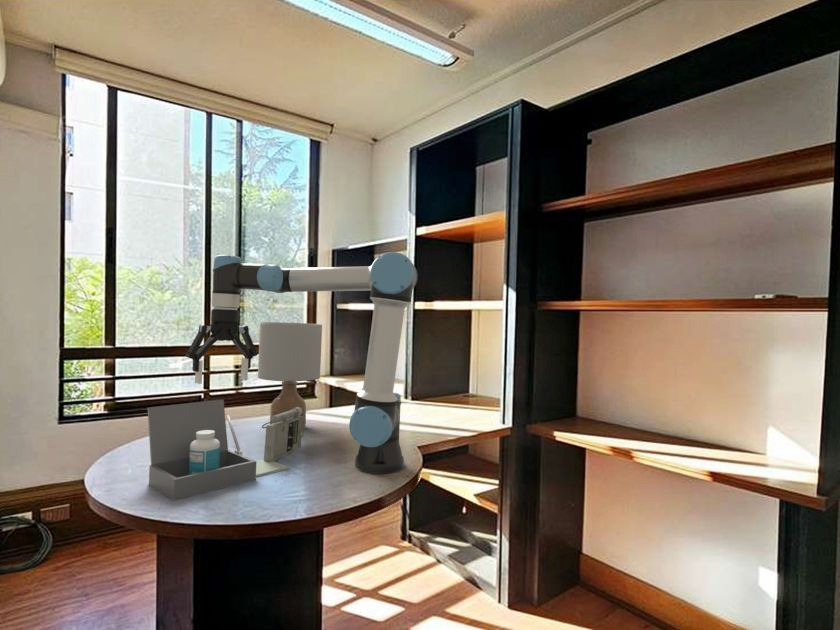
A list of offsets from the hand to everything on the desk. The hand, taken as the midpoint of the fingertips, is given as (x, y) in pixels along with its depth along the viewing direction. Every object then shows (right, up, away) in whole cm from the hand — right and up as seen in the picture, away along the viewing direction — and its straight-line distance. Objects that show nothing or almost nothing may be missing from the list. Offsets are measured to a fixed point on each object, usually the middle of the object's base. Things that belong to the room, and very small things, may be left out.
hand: (221, 381), depth 139 cm
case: (-2, -26, -8) cm, 27 cm away
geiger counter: (+13, -26, +19) cm, 35 cm away
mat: (+11, -26, +3) cm, 28 cm away
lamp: (+4, -26, +53) cm, 59 cm away
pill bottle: (-1, -26, -10) cm, 28 cm away
